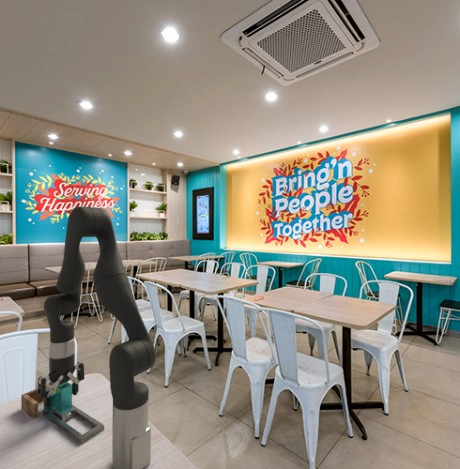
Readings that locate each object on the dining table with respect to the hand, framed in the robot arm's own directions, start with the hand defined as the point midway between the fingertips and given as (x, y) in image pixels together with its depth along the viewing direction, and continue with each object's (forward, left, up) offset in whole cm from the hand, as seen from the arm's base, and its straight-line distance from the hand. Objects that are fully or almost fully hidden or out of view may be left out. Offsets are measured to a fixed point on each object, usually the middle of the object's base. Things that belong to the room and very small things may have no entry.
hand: (62, 400), depth 98 cm
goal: (+9, 0, -5) cm, 11 cm away
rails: (-6, 0, -5) cm, 7 cm away
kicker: (-1, 0, -5) cm, 5 cm away
